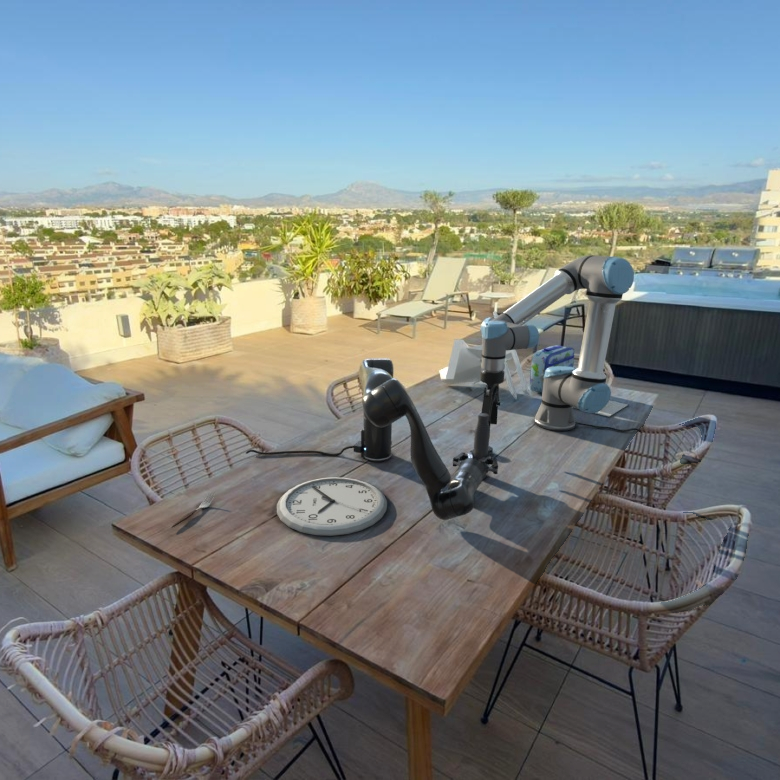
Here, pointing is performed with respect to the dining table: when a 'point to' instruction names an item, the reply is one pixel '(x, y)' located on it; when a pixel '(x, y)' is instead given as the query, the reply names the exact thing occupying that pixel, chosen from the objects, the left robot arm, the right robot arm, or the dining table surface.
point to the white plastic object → (476, 366)
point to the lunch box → (548, 363)
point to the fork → (203, 505)
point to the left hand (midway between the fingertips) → (482, 453)
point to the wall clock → (331, 506)
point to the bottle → (481, 437)
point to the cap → (490, 450)
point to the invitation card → (611, 408)
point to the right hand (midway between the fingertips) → (489, 430)
